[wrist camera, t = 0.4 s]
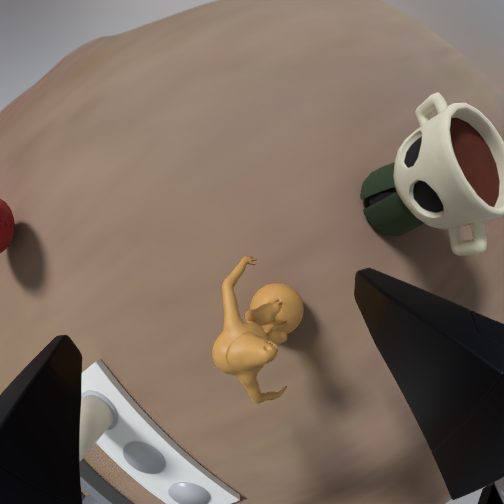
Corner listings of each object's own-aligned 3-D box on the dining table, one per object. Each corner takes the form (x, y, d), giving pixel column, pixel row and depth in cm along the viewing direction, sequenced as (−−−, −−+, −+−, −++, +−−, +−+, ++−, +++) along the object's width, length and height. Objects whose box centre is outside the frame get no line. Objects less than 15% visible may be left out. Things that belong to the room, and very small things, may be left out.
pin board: (158, 521, 20) (155, 533, 17) (119, 529, 19) (114, 539, 16) (39, 408, 20) (28, 416, 18) (15, 428, 19) (5, 435, 17)
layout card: (239, 494, 21) (241, 545, 13) (189, 513, 20) (181, 559, 12) (100, 358, 21) (52, 388, 13) (60, 391, 21) (16, 420, 13)
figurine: (307, 346, 22) (366, 411, 10) (237, 364, 22) (236, 448, 10) (285, 251, 23) (334, 229, 11) (212, 268, 22) (182, 265, 10)
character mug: (340, 150, 23) (412, 65, 10) (401, 149, 24) (482, 87, 11) (365, 267, 23) (473, 263, 10) (425, 255, 23) (530, 242, 10)
